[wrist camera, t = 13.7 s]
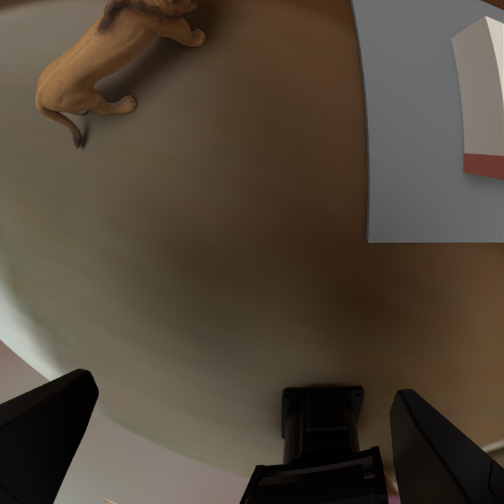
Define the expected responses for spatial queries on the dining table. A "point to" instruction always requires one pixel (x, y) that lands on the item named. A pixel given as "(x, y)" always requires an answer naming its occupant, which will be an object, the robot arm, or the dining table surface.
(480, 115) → the beige rectangular block
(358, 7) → the mat
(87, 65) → the lion figurine
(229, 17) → the dining table surface
